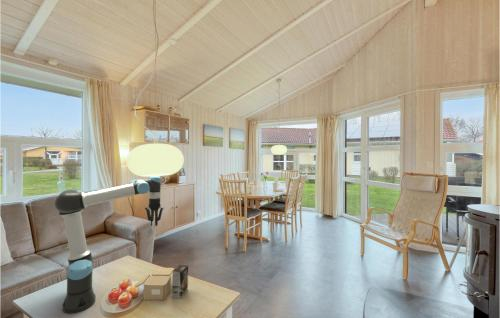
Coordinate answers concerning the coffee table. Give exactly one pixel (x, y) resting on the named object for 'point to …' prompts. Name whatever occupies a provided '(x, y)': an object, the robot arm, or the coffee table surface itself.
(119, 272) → the coffee table surface
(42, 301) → the coffee table surface
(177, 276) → the coffee box
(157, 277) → the carton
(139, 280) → the panel
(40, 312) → the coffee table surface
